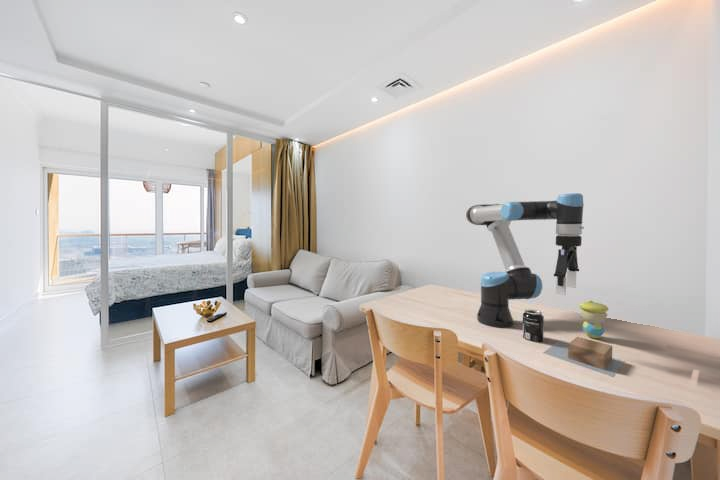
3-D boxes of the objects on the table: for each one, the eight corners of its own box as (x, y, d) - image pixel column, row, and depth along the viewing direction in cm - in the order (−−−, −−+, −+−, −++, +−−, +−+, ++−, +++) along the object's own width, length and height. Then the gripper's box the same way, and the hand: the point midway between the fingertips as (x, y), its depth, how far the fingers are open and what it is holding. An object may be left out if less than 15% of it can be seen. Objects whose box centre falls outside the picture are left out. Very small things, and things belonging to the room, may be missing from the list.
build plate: (542, 356, 90) (542, 352, 90) (558, 344, 98) (558, 341, 98) (613, 380, 75) (613, 376, 75) (624, 365, 83) (624, 361, 83)
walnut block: (568, 358, 86) (568, 343, 86) (577, 350, 91) (577, 336, 91) (604, 370, 79) (604, 354, 78) (612, 360, 84) (612, 345, 83)
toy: (613, 342, 98) (614, 304, 98) (586, 341, 100) (587, 303, 99) (599, 334, 106) (599, 298, 105) (574, 332, 108) (574, 297, 107)
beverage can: (531, 336, 106) (531, 307, 105) (547, 343, 99) (548, 313, 99) (518, 339, 104) (518, 310, 103) (534, 346, 97) (535, 315, 97)
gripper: (572, 238, 85) (569, 300, 87) (589, 233, 101) (586, 286, 102) (545, 237, 91) (543, 295, 93) (565, 233, 107) (563, 283, 108)
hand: (566, 290), depth 98 cm, fingers open, 13 cm apart
